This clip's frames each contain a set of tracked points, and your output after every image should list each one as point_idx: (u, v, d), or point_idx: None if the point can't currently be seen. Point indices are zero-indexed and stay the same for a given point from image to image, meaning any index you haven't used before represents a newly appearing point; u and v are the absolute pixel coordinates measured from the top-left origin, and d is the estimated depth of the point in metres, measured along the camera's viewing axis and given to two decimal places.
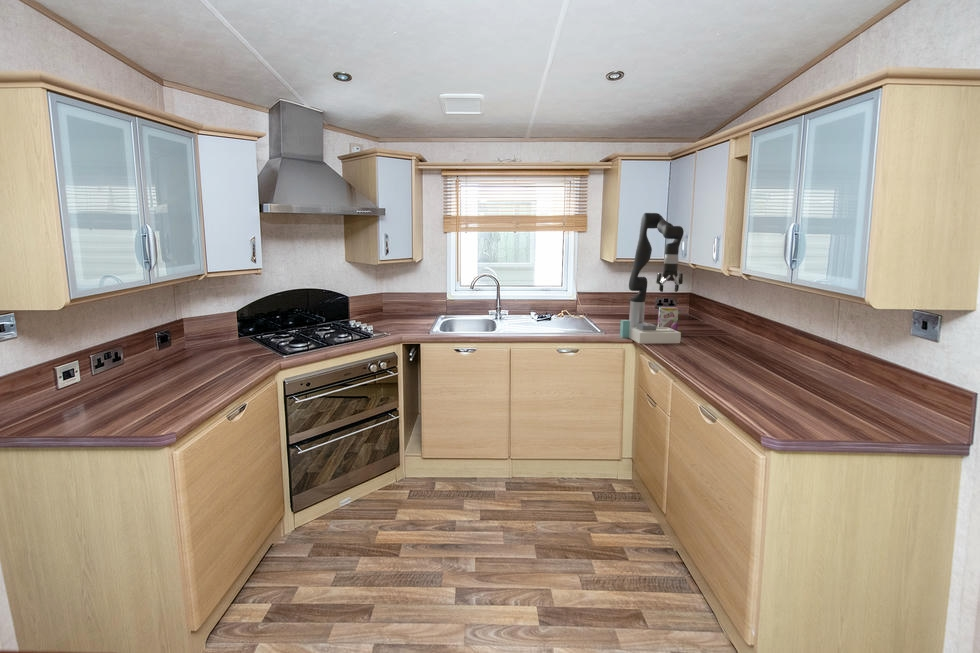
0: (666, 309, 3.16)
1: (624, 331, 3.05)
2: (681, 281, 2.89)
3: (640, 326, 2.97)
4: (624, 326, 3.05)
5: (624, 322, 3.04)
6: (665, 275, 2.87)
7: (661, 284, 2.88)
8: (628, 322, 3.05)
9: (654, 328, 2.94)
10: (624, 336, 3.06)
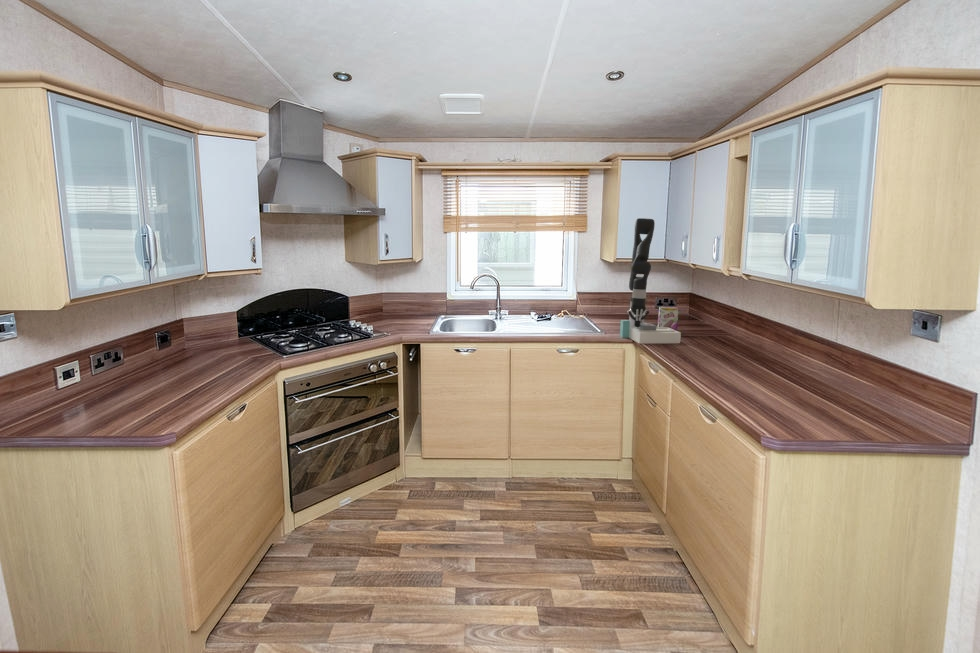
0: (666, 309, 3.16)
1: (624, 331, 3.05)
2: (643, 317, 2.96)
3: (640, 326, 2.97)
4: (624, 326, 3.05)
5: (624, 322, 3.04)
6: (634, 311, 2.94)
7: (636, 320, 2.95)
8: (628, 322, 3.05)
9: (654, 328, 2.94)
10: (624, 336, 3.06)
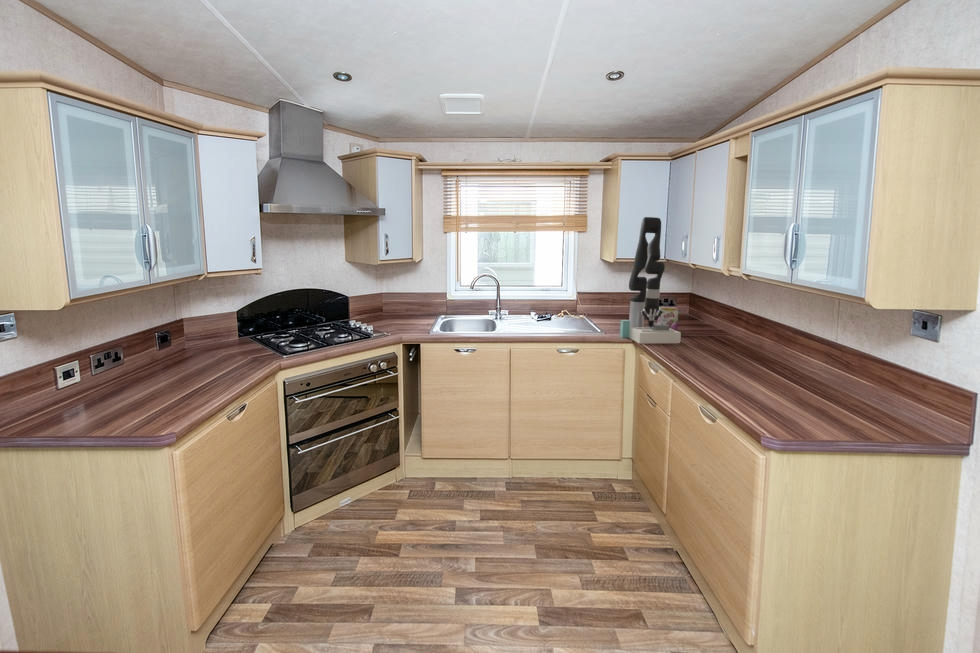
0: (666, 309, 3.16)
1: (624, 331, 3.05)
2: (657, 317, 2.96)
3: (653, 326, 2.97)
4: (624, 326, 3.05)
5: (624, 322, 3.04)
6: (647, 311, 2.95)
7: (649, 320, 2.96)
8: (628, 322, 3.05)
9: (667, 328, 2.95)
10: (624, 336, 3.06)
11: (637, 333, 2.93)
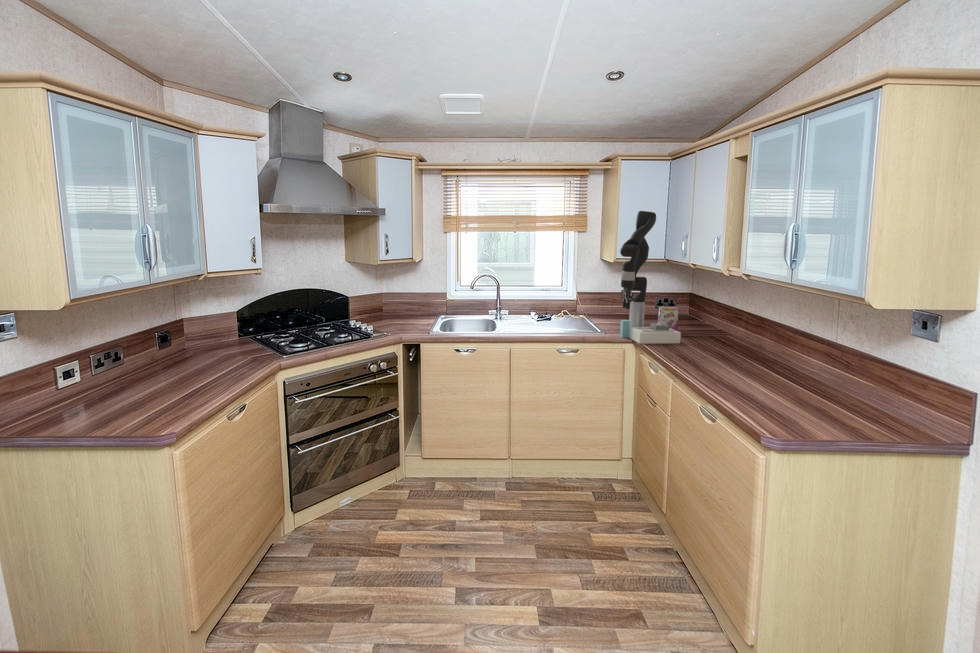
0: (666, 309, 3.16)
1: (624, 331, 3.05)
2: (627, 299, 2.99)
3: (653, 326, 2.97)
4: (624, 326, 3.05)
5: (624, 322, 3.04)
6: None
7: (622, 300, 3.07)
8: (628, 322, 3.05)
9: (667, 328, 2.95)
10: (624, 336, 3.06)
11: (637, 333, 2.93)
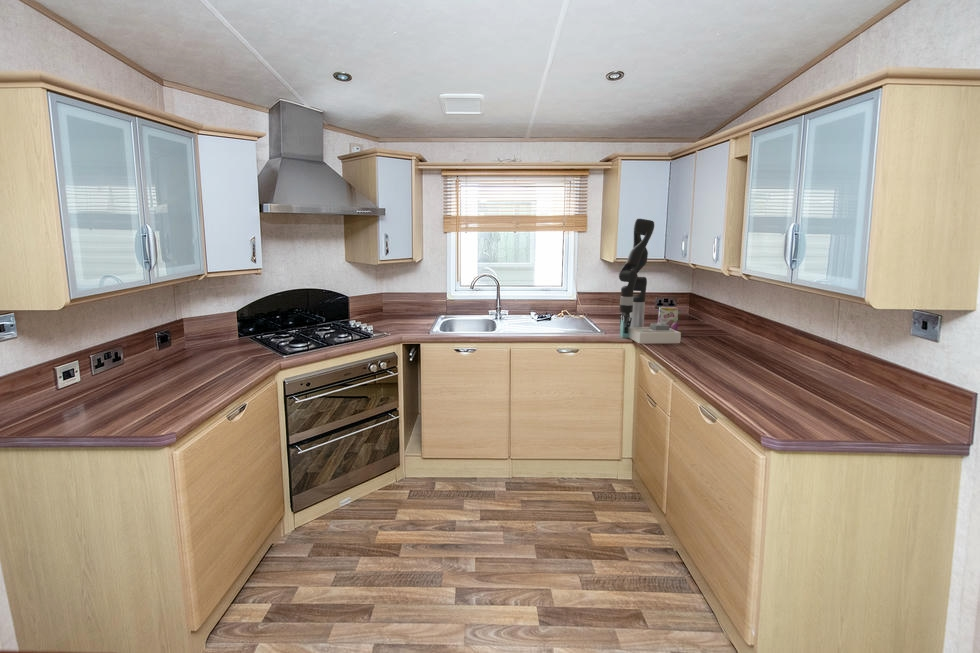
0: (666, 309, 3.16)
1: None
2: (626, 324, 3.02)
3: (653, 326, 2.97)
4: None
5: None
6: None
7: None
8: None
9: (667, 328, 2.95)
10: (624, 336, 3.06)
11: (637, 333, 2.93)
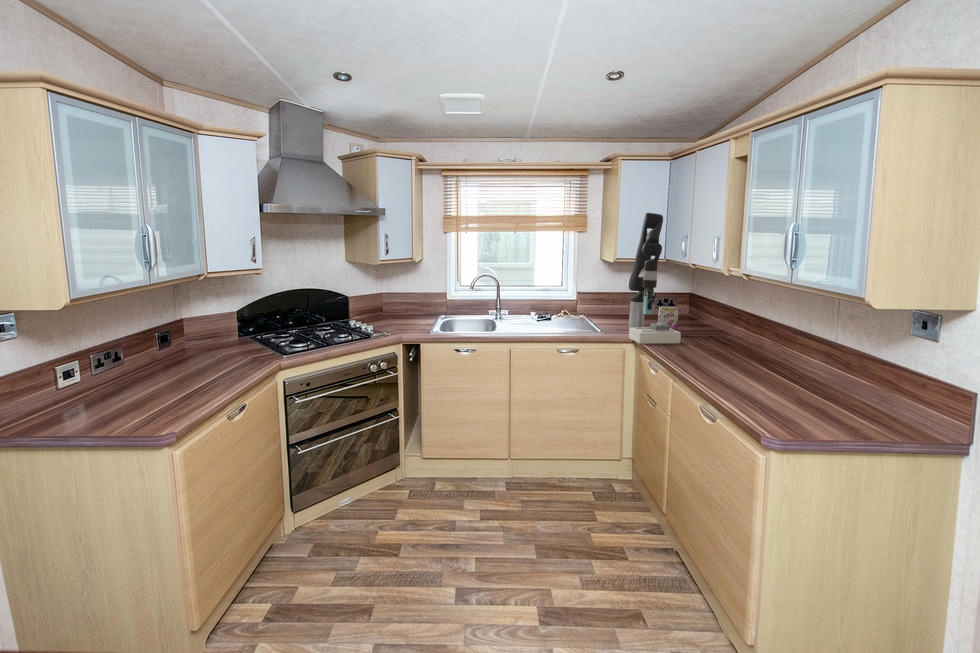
0: (666, 309, 3.16)
1: None
2: (649, 300, 2.90)
3: (653, 326, 2.97)
4: (647, 302, 2.93)
5: None
6: None
7: None
8: None
9: (667, 328, 2.95)
10: (647, 312, 2.94)
11: (637, 333, 2.93)
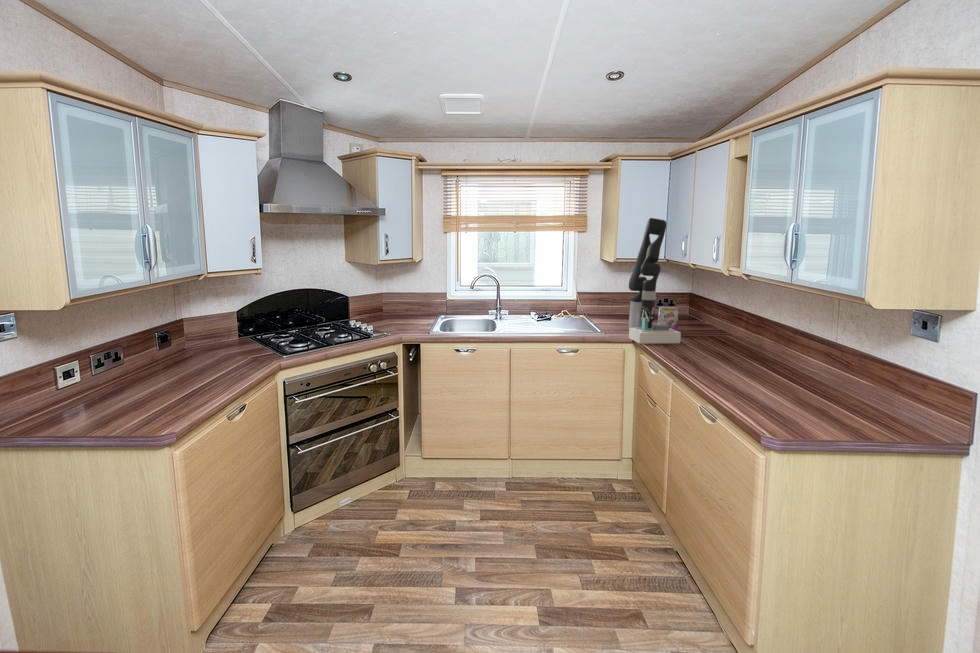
0: (666, 309, 3.16)
1: (646, 329, 2.96)
2: (649, 318, 2.90)
3: (653, 326, 2.97)
4: (646, 324, 2.96)
5: (646, 320, 2.95)
6: None
7: (641, 318, 3.02)
8: None
9: (667, 328, 2.95)
10: None
11: (637, 333, 2.93)
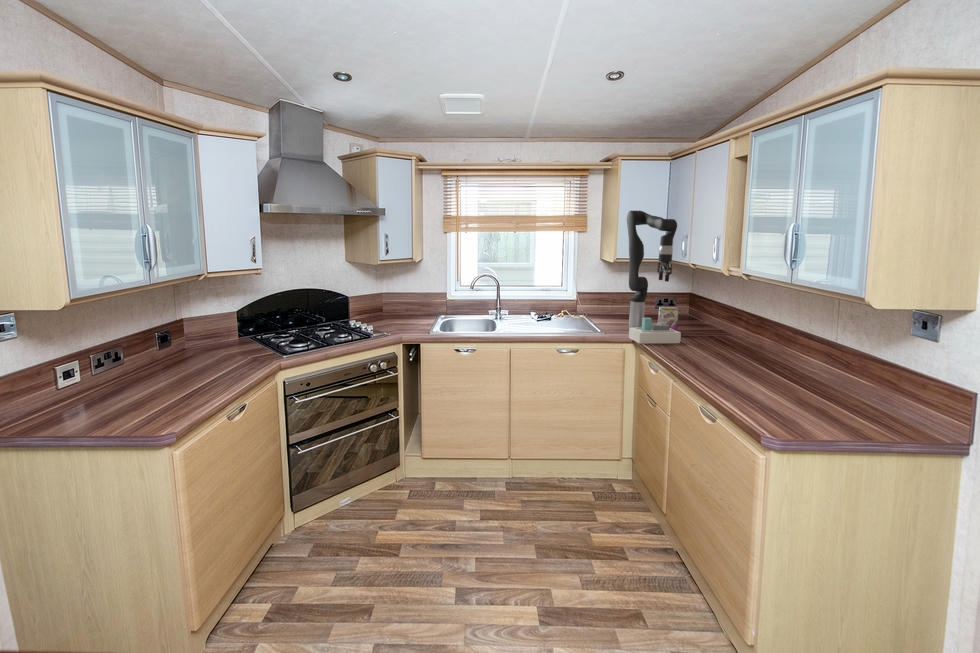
0: (666, 309, 3.16)
1: (646, 329, 2.96)
2: (667, 271, 3.02)
3: (653, 326, 2.97)
4: (646, 324, 2.96)
5: (646, 320, 2.95)
6: (660, 265, 3.11)
7: None
8: (650, 320, 2.95)
9: (667, 328, 2.95)
10: None
11: (637, 333, 2.93)
